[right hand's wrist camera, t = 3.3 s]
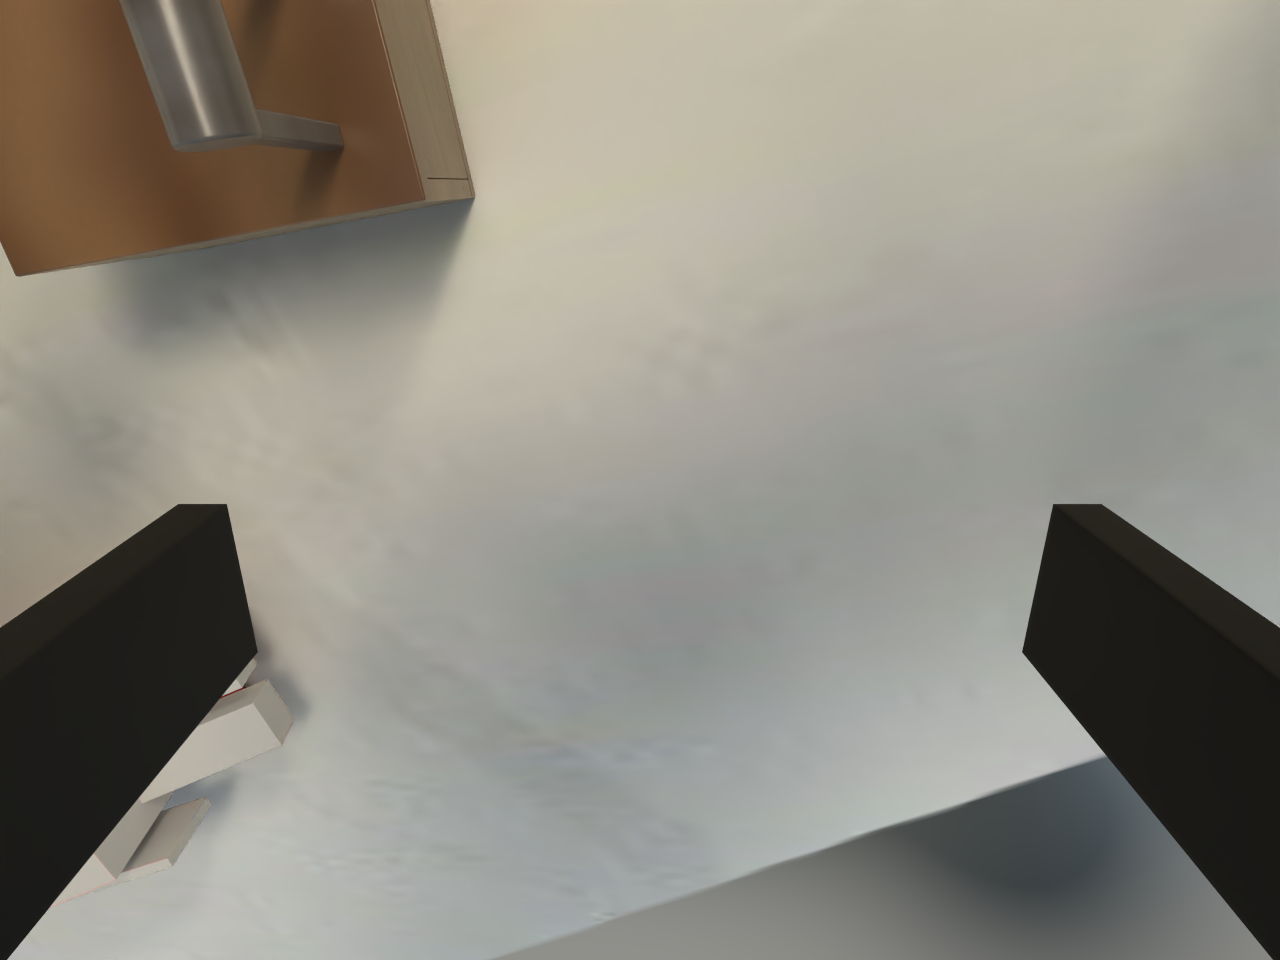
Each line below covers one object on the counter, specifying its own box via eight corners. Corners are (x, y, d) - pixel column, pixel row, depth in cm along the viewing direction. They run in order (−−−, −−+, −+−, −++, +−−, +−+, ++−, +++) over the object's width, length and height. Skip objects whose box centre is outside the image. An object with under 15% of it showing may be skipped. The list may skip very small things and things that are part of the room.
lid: (346, -142, 22) (165, -343, 13) (433, 199, 25) (330, 207, 17) (-104, -44, 22) (-537, -176, 14) (36, 274, 26) (-249, 317, 17)
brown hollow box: (419, -45, 30) (329, -137, 22) (476, 197, 34) (417, 202, 25) (107, 20, 31) (-103, -44, 22) (192, 250, 34) (37, 274, 26)
